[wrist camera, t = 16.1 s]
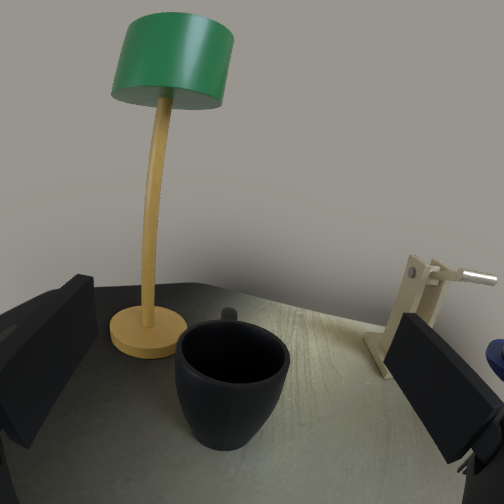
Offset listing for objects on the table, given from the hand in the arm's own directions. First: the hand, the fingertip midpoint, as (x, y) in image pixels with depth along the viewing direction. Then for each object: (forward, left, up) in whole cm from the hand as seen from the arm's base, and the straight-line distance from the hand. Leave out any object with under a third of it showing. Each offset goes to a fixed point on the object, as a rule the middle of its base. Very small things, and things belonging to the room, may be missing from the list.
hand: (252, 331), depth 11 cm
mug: (+9, -3, -16) cm, 18 cm away
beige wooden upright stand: (+11, -29, -16) cm, 35 cm away
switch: (+7, -27, -2) cm, 28 cm away
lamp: (+23, +3, -16) cm, 28 cm away
